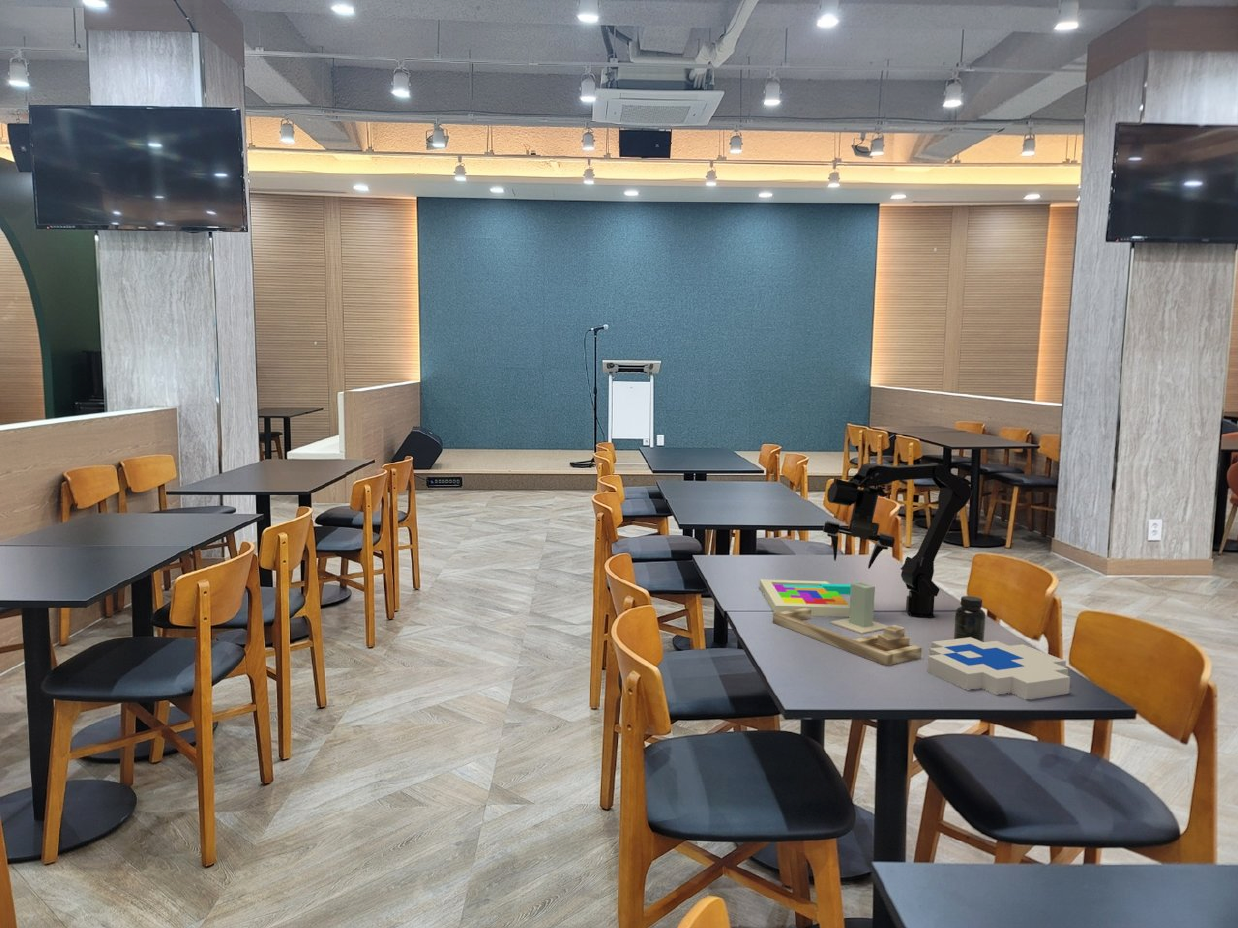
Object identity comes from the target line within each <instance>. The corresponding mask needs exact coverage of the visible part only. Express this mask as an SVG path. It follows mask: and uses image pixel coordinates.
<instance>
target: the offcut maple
mask: <svg viewBox="0 0 1238 928" xmlns="http://www.w3.org/2000/svg"><path fill="white" fill-rule="evenodd" d="M888 626H889V627H886V628H884V630H883V633H882V634H883V637H887V638H891V639H894V640H895V639H898V638H901V637H903V636H906V635H905V633H906V627H903V626H899V625H896V624H893V625H888Z"/></svg>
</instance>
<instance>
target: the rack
mask: <svg viewBox="0 0 1238 928" xmlns="http://www.w3.org/2000/svg"><path fill="white" fill-rule="evenodd" d="M808 619H812V616H811V609H808V608H801V609H795V610H789V611H783V612H777V613H774V612H773V613H772V623H773V624H776V625H778V626H781V627H784V628H786V629H788V630H791V631H794V632H797V633H799V634H802V635H805V636H807V637H810V638H812V639H816V640H818V641H820V642H822V643H826V644H828V645H830V646H833V647H834V648H835V647H836V648H838V649H841V650H843V649H844V650H843V651H846V652H848V651H849V653H851V652H852V653H851V654H853V655H856V654H857V655H856V656H859V655H860V656H859V657H861V656H862V658H864V657H865V658H864V659H867V658H868V659H867V660H869V659H870V661H872V662H875V663H877V662H878V663H877V664H880V665H882V664H883V666H885V667H889V666H892V664H893V665H896V663H897V664H900V663H901V664H902V663H905V661H906V662H909V660H910V661H913V660H917V659H921V658H922V647H921V646H918V645H916V644H913V645H912V646H909V647H904V648H900V649H895V650H891V651H883V650H880V649H878V648H875V643H878V635H882V634H883V633H879V634H878V633H877V634H873V635H869V636H864V637H860V638H859V637H858V638H853V639H852V638H850V637H847V636H845V635H842V634H839V633H837V632H834V631H831V630H828V629H826V628H822V627H820V626H817V625H815V624H812V623H810V622H807V621H804V620H808Z"/></svg>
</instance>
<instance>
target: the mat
mask: <svg viewBox="0 0 1238 928" xmlns="http://www.w3.org/2000/svg"><path fill="white" fill-rule="evenodd" d="M829 623H830V624H831V625H835V626H838V627H840V628H842V629H846V630H849V631H852V632H854V633H857V634H860V635H866V634H871V633H874V632H875V633H876V632H880V631H884V628H886V627H889V626H890V625H886V624H883V623H880V622H877V621H874V620H873V626H869V627H864V628H863V627H860V626H857V625H855V624H852V623H849V617H847V618H842V619H837V620H836V619H835V620H832V621H829Z"/></svg>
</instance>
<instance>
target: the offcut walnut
mask: <svg viewBox="0 0 1238 928" xmlns="http://www.w3.org/2000/svg"><path fill="white" fill-rule="evenodd" d="M909 646H913V645H911V644H909ZM909 646H908V647H909ZM875 648H878V649H880V650H883V651H891V650H895V649H900V648H904V647H896V648H886V647H884V646H882V645H881V644H879V643H875Z"/></svg>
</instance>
